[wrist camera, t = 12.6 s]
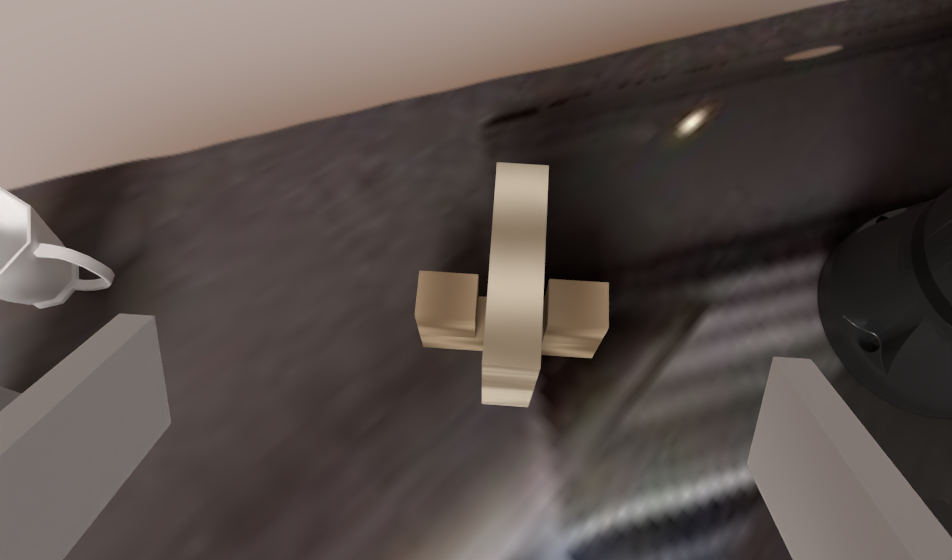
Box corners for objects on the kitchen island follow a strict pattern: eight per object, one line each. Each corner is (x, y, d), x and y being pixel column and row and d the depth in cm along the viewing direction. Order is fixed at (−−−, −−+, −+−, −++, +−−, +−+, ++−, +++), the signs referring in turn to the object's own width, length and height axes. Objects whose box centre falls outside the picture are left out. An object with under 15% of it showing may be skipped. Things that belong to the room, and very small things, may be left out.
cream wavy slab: (528, 407, 44) (540, 368, 35) (481, 403, 44) (482, 363, 35) (535, 239, 49) (548, 165, 40) (493, 236, 49) (496, 162, 40)
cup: (25, 232, 53) (-51, 179, 45) (150, 250, 52) (94, 199, 45) (-13, 318, 50) (-100, 277, 43) (118, 338, 49) (53, 299, 42)
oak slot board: (592, 318, 50) (608, 282, 43) (591, 358, 49) (608, 328, 42) (427, 307, 50) (419, 270, 44) (423, 346, 49) (414, 315, 43)
